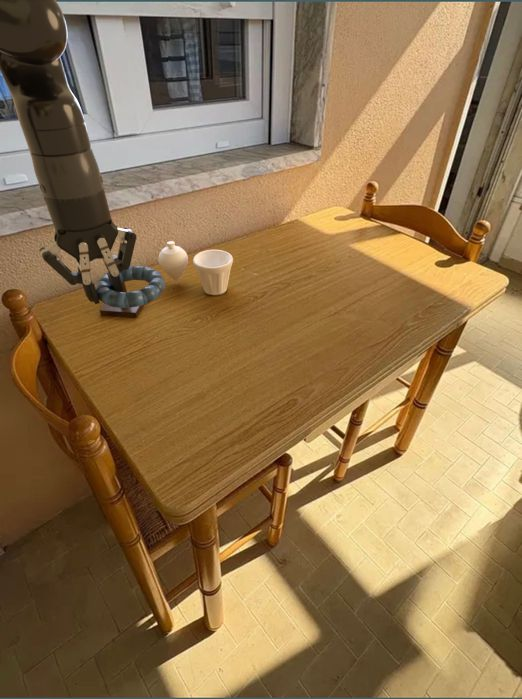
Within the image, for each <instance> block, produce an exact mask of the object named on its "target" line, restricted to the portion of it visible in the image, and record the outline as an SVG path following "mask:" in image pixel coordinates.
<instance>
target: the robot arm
mask: <svg viewBox="0 0 522 699" xmlns="http://www.w3.org/2000/svg"><path fill="white" fill-rule="evenodd" d="M66 21H67V20H66V18H65V15H64V13H63V10H62V8H61V6H60V5H59V3H58V2H57V0H0V73H1V76H2V77H3V80H4V82H5V84H6V87H7V89H8V91H9V93H10V95H11V98H12V101H13V104H14V105H13V106H14V107H15V111H16V115H17V116H16V117H17V119H18V122H19V125H20V128H21V130H22V134H23V136H24V139H25V142H26V145H27V147H28V150H29V154H30V157H31V161H32V167H33V171H34V174H35V177H36V180H37V183H38V186H39V189H40V191H41V194H42V197H43V199H44V203H45V206H46V208H47V211H48V213H49V217H50V219H51V222H52V225H53V228H54V237H53V238H54V239H53V240H54V241H53V242H52V243H51V244H49V245H48V246H42V247H40V249H39V250H38V251H39V254H40V255H41V258H42V259H43V260H44V262H45V263H47V265H49V267H51V268H52V269H53V270H54V271H55V272H56V273H57V274H58V275H59V276H60V277H62V278H63V279H64V280H65V281H66V282H67V283H68V284H70V285H71V286H75V285H77V284H80V285H81V286H82V288H83V291H84V294H85V297H86V299H87V300H88V301H89V302H90V303H94V305H98V304H101V301H100V300H99V298H98V295H97V292H96V289H95V285H96V284H95V283H94V281H93V280H92V277H91V275H92V274H91V269H92V268H91V262H92V261H95V260H102V262H103V264H104V266H105V269H106V270H107V272H106V273H107V275H108V279H109V282H110V286H111V288H112V290H113V291H115V292H123V287H122V283H121V279H120V273H121V272H122V271H123V270H128V269H129V268H130V266H131V264H132V259H133V254H134V250H135V246H136V241H137V237H138V236H137V234H136V233H135V232H134V231H133V230H132V229H131V228H130V227H127V226H126V227H124V228H121V227H117V225H116V224H115V223H114V222H113V219H112V215H111V211H110V207H109V205H108V203H109V202H108V199H107V195H106V191H105V188H104V180H103V176H102V175H101V171H100V168H99V165H98V162H97V158H96V156H95V155H94V151H93V148H92V145H91V140H90V137H89V132H88V129H87V124H86V121H85V118H84V114H83V111H82V108H81V106H80V103H79V101H78V98H76V96H75V94H74V93H73V92H72V90H71V88H70V85H69V82H68V79H67V76H66V72H65V68H64V65H63V62H62V58H61V56H62V55H63V53H64V52H65V50H66V47H67V44H68V37H69V36H68V26H67V22H66ZM116 239H117V240H118V241H119V243H120V244H119V246H118V247H119V248H118V252H117V261H115V260H114V258H113V256H112V255H113V254H112V252H111V251H112V249H113V246H114V244H115V242H116ZM61 250H62V251H64V252H65V253H67V254H68V255H70V257H72V258H74V261H75V264H76V269H77V271H72V270H71V269H70V268H69V267H68V266H67V265H66V264H65V263H64V262H63V261H62V259H63V256H62V254H61V253H60V252H61Z"/></svg>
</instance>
